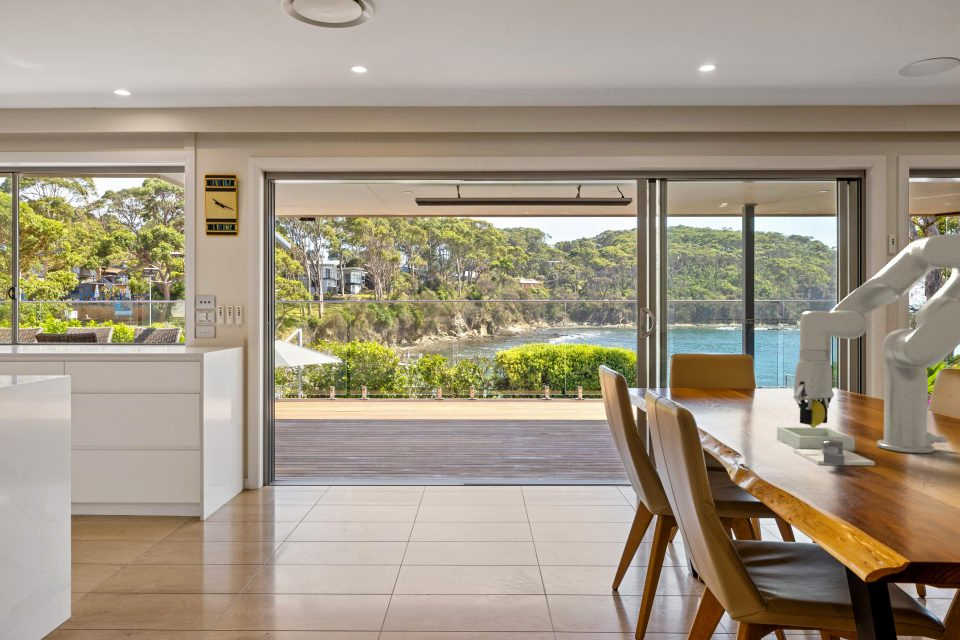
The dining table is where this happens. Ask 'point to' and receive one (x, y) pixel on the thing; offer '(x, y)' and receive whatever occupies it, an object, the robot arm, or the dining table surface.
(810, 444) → the tray
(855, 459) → the crank board
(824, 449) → the crank
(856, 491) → the dining table surface
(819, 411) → the lemon
